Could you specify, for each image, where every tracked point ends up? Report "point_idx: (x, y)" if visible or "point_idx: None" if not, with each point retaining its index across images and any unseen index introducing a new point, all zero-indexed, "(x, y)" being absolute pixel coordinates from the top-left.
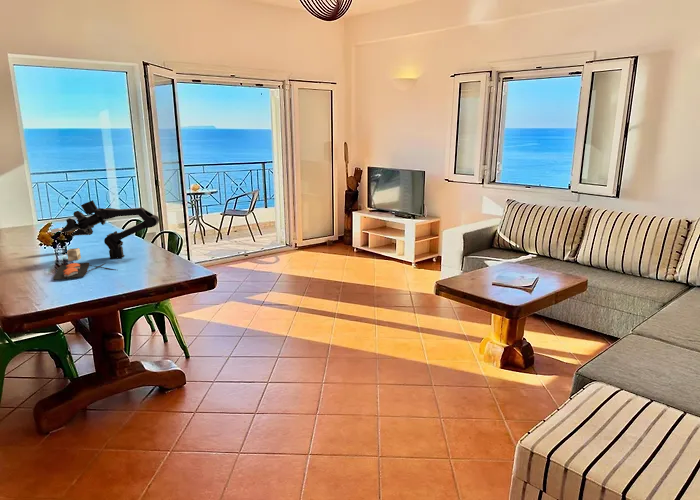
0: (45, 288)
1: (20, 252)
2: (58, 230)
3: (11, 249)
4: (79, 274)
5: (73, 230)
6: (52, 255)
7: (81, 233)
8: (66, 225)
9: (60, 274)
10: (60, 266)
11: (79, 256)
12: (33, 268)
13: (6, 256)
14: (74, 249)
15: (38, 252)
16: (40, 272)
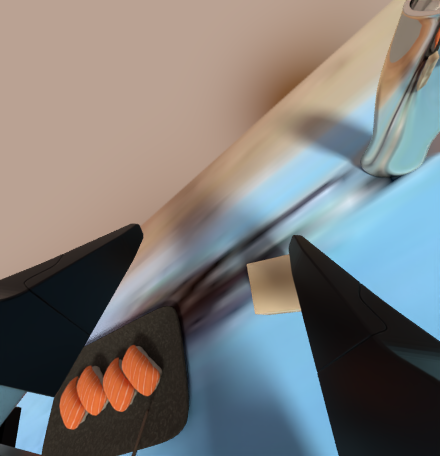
0: None
1: (357, 59)
2: (435, 18)
3: (388, 15)
4: (79, 430)
5: (48, 395)
6: (338, 159)
7: (326, 379)
8: (3, 284)
9: (103, 351)
10: (162, 308)
11: (293, 311)
12: (190, 225)
13: (305, 80)
14: (275, 291)
15: (373, 89)
16: (152, 269)
